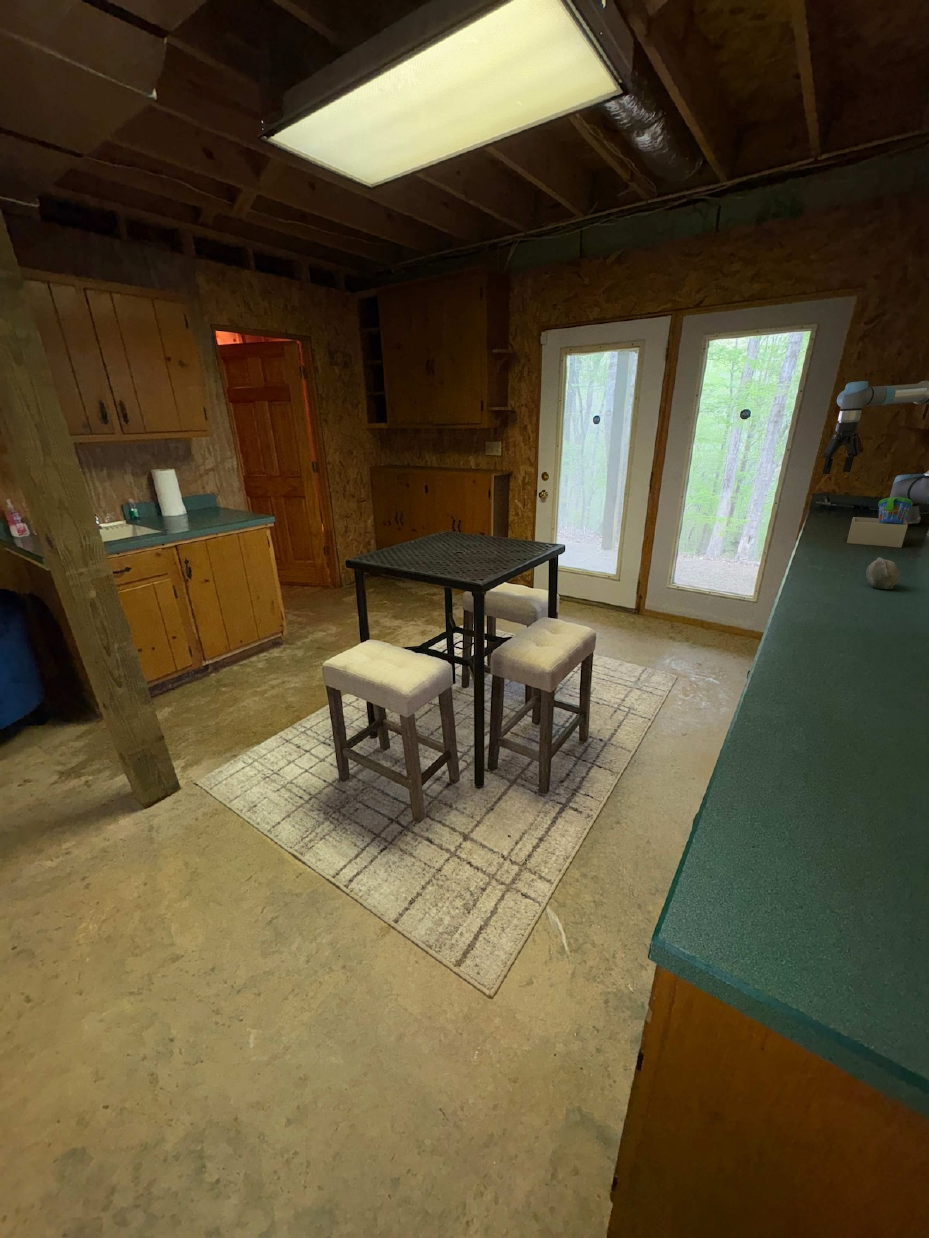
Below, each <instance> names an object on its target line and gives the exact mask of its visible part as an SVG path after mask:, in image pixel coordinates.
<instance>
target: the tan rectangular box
mask: <svg viewBox="0 0 929 1238" xmlns="http://www.w3.org/2000/svg"><path fill="white" fill-rule="evenodd" d="M878 521H879V517H860V516H853V517H852V519H851V524H850V528H849V532H848V535H847V540H846V544H853V545H864V546H865V545H866V546H878V547H888V548H890V547H891V548H902V547H903V544H904V540H905V537H906V534H907V529H908V528H909V527H908V526H909V525H908V524H907V521H906V520H905V521H904V523H903V525H899V524H883V523H878Z"/></svg>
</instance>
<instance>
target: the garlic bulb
mask: <svg viewBox="0 0 929 1238" xmlns="http://www.w3.org/2000/svg"><path fill="white" fill-rule="evenodd" d="M898 567H899V566H898V565H897V563H896V562H894V561H892V560H889V559H884V558H883V557H877V558H876V559H875V560H874V561H872V562H871V563H870V564H869V565H868V566H867V568H866V572H865V576H866V577H865V578H866V579H867V581H868V583H869V586H870V587H871V588H874V589H880V590H893V589H894V586H895V585H896V584H897V583H898V580H899V578H900V577H899V576H900V571H899V569H898Z"/></svg>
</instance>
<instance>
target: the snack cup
mask: <svg viewBox="0 0 929 1238" xmlns="http://www.w3.org/2000/svg"><path fill="white" fill-rule="evenodd" d="M912 505H913V502H912V501H911V500H910V499H907V498H901V497H891V498H890V497H886V498H882V499H880V500H879V501H878V505H877V506H878V518H879V521H878V523H883V524H899V525H903V523H904V521H905V519H906V517H907V514H908V512H909V509H910V508H911V507H912Z"/></svg>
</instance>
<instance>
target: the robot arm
mask: <svg viewBox="0 0 929 1238" xmlns="http://www.w3.org/2000/svg"><path fill="white" fill-rule="evenodd" d="M907 403H913V404H915V405H929V379H927V380H922V381H919V382H918V383H909V384H908V383H907V384H895V385H876V386H875V385H874V386H869V381H868V380H867V381H866V380H863V381H851V382H848V383H846V385H845V388H844V390H842V391H840V392H839V394H838V396H837V398H836V404H837V406H838V407H840V409H839V413H838V419H837V423H836V426H835V432H837V433H833V434H832V435H831V436H830V440H829V442H828V444H827V445H826V447H825V449H824V451H823V453H822V455H821V457H822V459H825V460H824V463H823V469H822V473H821V474H822V475H830V474H831V470H832V467H833V461H834V458H833V457H834V456H835V455H836V453H837V452H838V450H839V449H840V447H842V446H844V447H845V451H846V454H847V456H846V457H845V460H844V464H843V469H842V473H851V471H852V466H853V462H854V459H855V458H856V457H858V455H859V454H860V452H859V440H858V439H859V432H857V431H858V428H859V421H860V420H861V416H862V411H863V408H864V407H873V406H874V407H876V406H878V407H879V406H887V405H894V404H907ZM891 497H901V498H907V499H910V500H911V501H912V502H913V505H912V507H911V508H910V509H909V512H908V514H907V517H906V519H905V520H906V521H907V524H908V526H917V525H919V524H920V521H921V519H922V518H923V517H924V518H925V517H928V515H927V514H920V504H923V505H929V470H928V471H926V472H925V473H913V474H898V475H896V477H895V478H894V481H893V482H892V486H891V491H890V494H889V498H891Z"/></svg>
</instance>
